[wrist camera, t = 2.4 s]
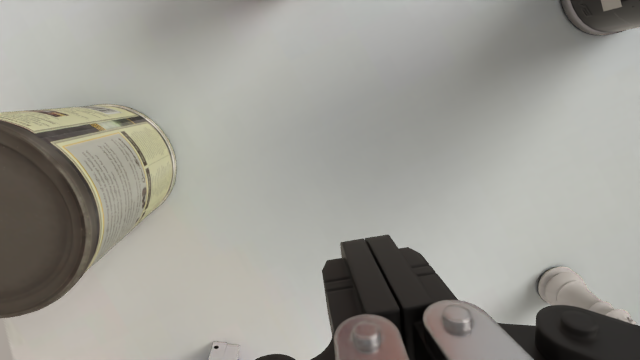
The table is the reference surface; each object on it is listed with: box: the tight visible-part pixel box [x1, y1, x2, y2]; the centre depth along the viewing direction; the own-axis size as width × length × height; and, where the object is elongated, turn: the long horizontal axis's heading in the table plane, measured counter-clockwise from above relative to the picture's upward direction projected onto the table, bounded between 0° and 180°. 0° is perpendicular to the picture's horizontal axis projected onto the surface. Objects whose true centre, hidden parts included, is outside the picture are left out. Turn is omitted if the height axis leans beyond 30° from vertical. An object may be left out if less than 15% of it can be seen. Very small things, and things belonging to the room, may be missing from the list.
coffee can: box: [0, 104, 176, 318], centre depth 23 cm, size 10×10×14 cm
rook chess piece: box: [538, 267, 636, 324], centre depth 33 cm, size 4×4×8 cm
